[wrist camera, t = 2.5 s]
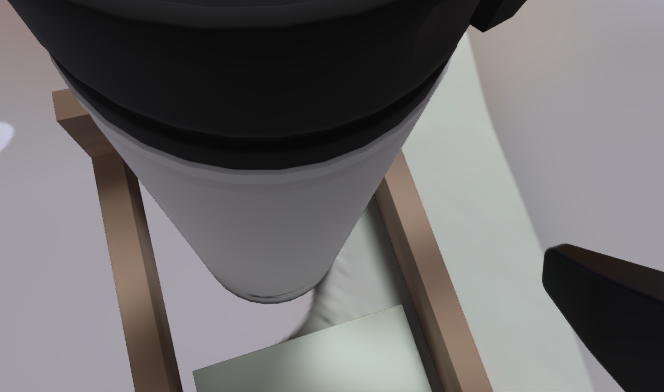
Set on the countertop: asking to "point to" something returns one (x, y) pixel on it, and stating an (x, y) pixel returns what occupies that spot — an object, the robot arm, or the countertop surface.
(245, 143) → the travel mug
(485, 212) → the countertop surface
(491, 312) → the countertop surface
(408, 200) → the shelf lane
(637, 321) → the robot arm
